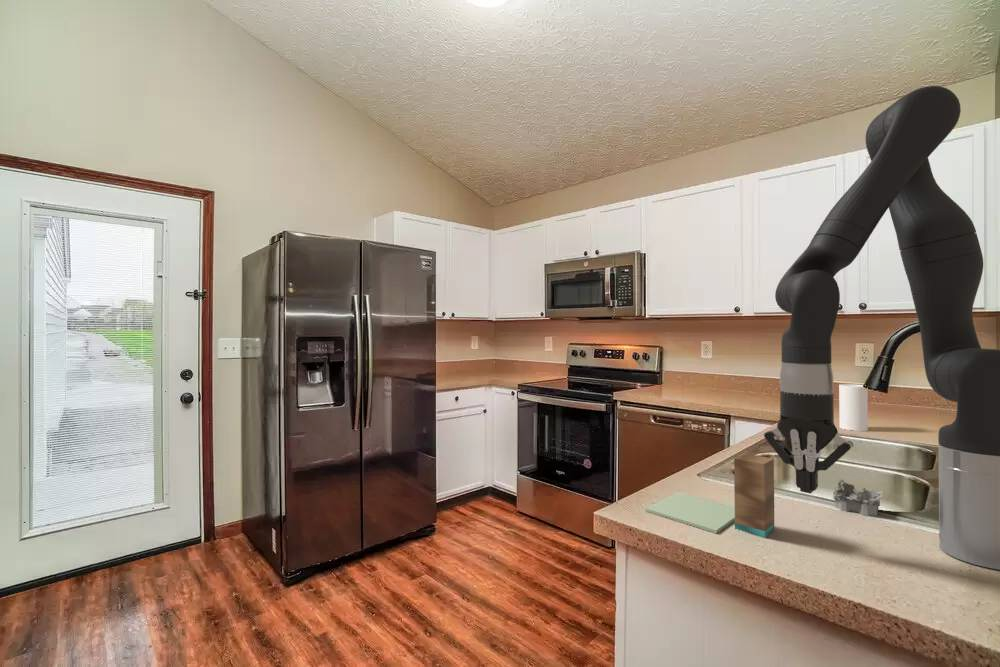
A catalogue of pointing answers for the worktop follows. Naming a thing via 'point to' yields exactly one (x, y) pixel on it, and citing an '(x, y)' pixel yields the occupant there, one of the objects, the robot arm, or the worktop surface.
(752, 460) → the walnut block
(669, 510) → the sage mat
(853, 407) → the cup
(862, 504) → the grey miniature model
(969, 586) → the worktop surface
